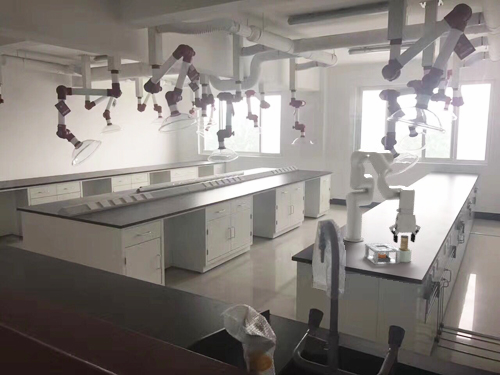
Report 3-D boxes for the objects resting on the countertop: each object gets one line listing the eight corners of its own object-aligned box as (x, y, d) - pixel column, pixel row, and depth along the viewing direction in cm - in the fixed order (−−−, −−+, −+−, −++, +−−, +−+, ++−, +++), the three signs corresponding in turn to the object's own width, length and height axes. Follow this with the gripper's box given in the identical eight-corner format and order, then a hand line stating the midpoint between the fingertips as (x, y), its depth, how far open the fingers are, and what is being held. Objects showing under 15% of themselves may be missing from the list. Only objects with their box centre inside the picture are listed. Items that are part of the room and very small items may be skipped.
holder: (394, 258, 221) (394, 247, 220) (406, 257, 222) (406, 247, 221) (400, 262, 214) (400, 251, 213) (412, 262, 215) (413, 251, 214)
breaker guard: (364, 256, 225) (364, 243, 224) (388, 255, 226) (388, 242, 225) (374, 264, 211) (375, 251, 210) (399, 263, 213) (400, 250, 212)
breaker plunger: (375, 258, 221) (376, 252, 220) (383, 257, 221) (384, 252, 221) (379, 260, 216) (379, 255, 216) (387, 260, 217) (387, 255, 216)
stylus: (401, 260, 216) (403, 237, 214) (398, 258, 220) (399, 235, 218) (408, 260, 216) (409, 236, 215) (404, 257, 220) (406, 235, 218)
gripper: (393, 212, 210) (392, 244, 212) (425, 212, 212) (422, 243, 214) (387, 210, 217) (385, 240, 220) (417, 209, 219) (415, 239, 222)
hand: (404, 241), depth 217 cm, fingers open, 9 cm apart
